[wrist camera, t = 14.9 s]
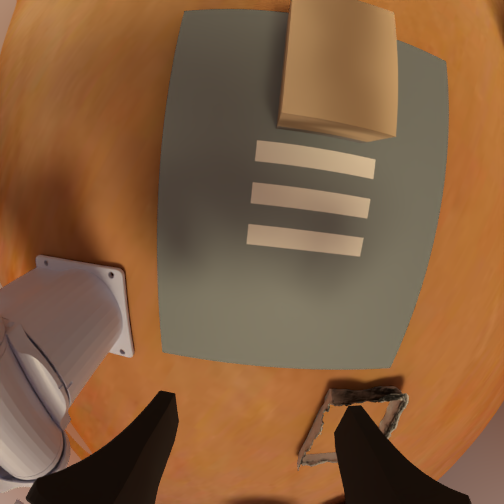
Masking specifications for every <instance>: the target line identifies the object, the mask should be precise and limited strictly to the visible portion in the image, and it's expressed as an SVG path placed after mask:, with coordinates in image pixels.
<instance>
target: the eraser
mask: <svg viewBox="0 0 504 504" xmlns="http://www.w3.org/2000/svg"><path fill="white" fill-rule="evenodd" d="M397 110H398V57H397V39H396V27H395V17H394V12H391V11H388V10H386V9H383V8H380V7H377V6H374V5H371V4H368V3H364V2H361V1H358V0H291V3H290V9H289V14H288V20H287V26H286V36H285V47H284V57H283V67H282V77H281V87H280V97H279V106H278V116H277V125H276V129H283V130H290V131H297V132H304V133H310V134H316V135H322V136H327V137H333V138H338V139H343V140H348V141H352V142H357V143H366V142H371V141H376V140H381V139H386V138H391V137H396V129H397Z"/></svg>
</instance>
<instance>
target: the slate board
mask: <svg viewBox="0 0 504 504" xmlns="http://www.w3.org/2000/svg"><path fill="white" fill-rule="evenodd" d="M288 14H289V13H285V12H276V11H265V10H247V9H210V10H192V11H184V15H183V19H182V23H181V27H180V32H179V36H178V41H177V45H176V50H175V55H174V60H173V66H172V72H171V77H170V83H169V90H168V97H167V104H166V111H165V119H164V128H163V137H162V148H161V159H160V173H159V190H158V217H157V271H158V298H159V315H160V329H161V341H162V351H163V352H164V353H170V354H175V355H181V356H186V357H192V358H199V359H205V360H212V361H220V362H227V363H236V364H245V365H255V366H266V367H280V368H298V369H380V368H390V367H391V365H392V363H393V360H394V358H395V356H396V354H397V351H398V349H399V347H400V344H401V342H402V340H403V337H404V335H405V332H406V330H407V327H408V324H409V322H410V319H411V316H412V314H413V311H414V308H415V305H416V302H417V299H418V296H419V293H420V290H421V287H422V283H423V280H424V277H425V273H426V270H427V266H428V262H429V259H430V255H431V251H432V247H433V242H434V238H435V233H436V229H437V224H438V219H439V213H440V207H441V201H442V195H443V188H444V180H445V171H446V161H447V148H448V125H449V102H448V79H447V67H446V61H444V60H442V59H440V58H438V57H436V56H434V55H432V54H430V53H427V52H425V51H423V50H421V49H419V48H416V47H414V46H412V45H409V44H407V43H404V42H402V41H399V40H397V57H398V110H397V129H396V137H391V138H386V139H381V140H376V141H371V142H366V143H357V142H352V141H348V140H343V139H338V138H333V137H327V136H322V135H316V134H310V133H304V132H297V131H290V130H283V129H276V125H277V116H278V106H279V97H280V87H281V77H282V67H283V57H284V47H285V36H286V26H287V20H288Z"/></svg>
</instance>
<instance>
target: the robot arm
mask: <svg viewBox="0 0 504 504" xmlns="http://www.w3.org/2000/svg"><path fill="white" fill-rule="evenodd" d="M47 262H48V263H47ZM36 266H37V267H36V268H35V269H33V270H31V271H29V272H28V273H26V274H24V275H22V276H21V277H19V278H17V279H16V280H14V281H12V282H11V283H9V284H8V285H6V286H4V287H3V288H1V289H0V492H1V493H5V492H7V491H9V490H11V489H14V488H18V487H31V489H30V490H29V492H28V495H27V496H26V500H27V501H28V502H30V503H31V504H155V500H156V495H157V490H158V486H159V483H160V480H161V477H162V474H163V471H164V469H165V466H166V463H167V460H168V458H169V455H170V452H171V449H172V447H173V444H174V441H175V436H176V432H177V427H178V423H179V419H178V412H177V405H176V397H175V393H170V392H166V391H159V392H158V393H157V395H156V396H155V397H154V398H153V400H152V401H151V402H150V403H149V404H148V406H147V407H146V408H145V409H144V410H143V411H142V412H141V413H140V414H139V415H138V417H137V418H136V419H135V420H134V421H133V422H132V423H131V424H130V425H129V426H128V427H127V428H125V429H124V430H123V431H122V432H121V433H120V434H119V435H118V436H116V437H115V438H114V439H113V440H112V441H110V442H109V443H108V444H106V445H105V446H104V447H102V448H101V449H99V450H98V451H97V452H95V453H93V454H92V455H90V456H89V457H87V458H85V459H83V460H82V461H80V462H78V463H76V464H74V465H71V466H70V467H67V464H68V462H69V457H70V442H69V439H68V436H67V434H66V432H65V431H64V430H65V428H66V427H67V425H68V423H69V422H70V420H71V418H70V416H69V414H68V409H69V407H70V406H71V404H72V403H73V402H74V400H75V399H76V397H77V396H78V394H79V393H80V391H81V390H82V388H83V387H84V386H85V384H86V383H87V381H88V380H89V378H90V377H91V376H92V374H93V373H94V371H95V370H96V369H97V367H98V366H99V365H100V363H101V362H102V360H103V359H104V358H105V356H106V355H107V354H108V352H110V353H114V354H118V355H121V356H125V357H132V356H133V355H134V348H133V342H132V335H131V328H130V321H129V313H128V305H127V295H126V285H125V274H124V272H123V270H122V269H120V268H115V267H109V266H103V265H96V264H90V263H84V262H78V261H73V260H67V259H61V258H56V257H50V256H45V255H38V256H37V257H36ZM111 272H112V273H113V274H114V276H112V275H111ZM123 350H124V351H125V352H124V351H123ZM334 436H335V448H336V455H337V460H338V465H339V469H340V474H341V478H342V483H343V487H344V493H345V502H346V504H471V501H470V499H469V496H468V495H465V494H463V493H460V492H458V491H455V490H453V489H450V488H448V487H446V486H444V485H442V484H441V483H439V482H437V481H435V480H434V479H432V478H431V477H429V476H428V475H426V474H425V473H423V472H422V471H421V470H419V469H418V468H417V467H416V466H414V465H413V464H412V463H411V462H410V461H408V460H407V459H406V458H405V457H404V456H403V455H402V454H401V453H400V452H399V451H398V450H397V449H396V448H395V447H394V445H393V444H392V443H391V442H390V441H389V440H388V439H387V437H386V436H385V435H384V434H383V433H382V431H381V430H380V429H379V428H378V426H377V425H376V424H375V423H374V421H373V420H372V419H371V418H370V416H369V415H368V414H367V412H366V411H365V410H364V409H363V407H362V406H361V405H360V406H348V408H347V410H346V412H345V414H344V416H343V417H342V419H341V421H340V423H339V425H338V427H337V429H336V430H335V432H334ZM66 467H67V468H66ZM15 504H24V503H22V502H21V501H19V500H16V502H15Z"/></svg>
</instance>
